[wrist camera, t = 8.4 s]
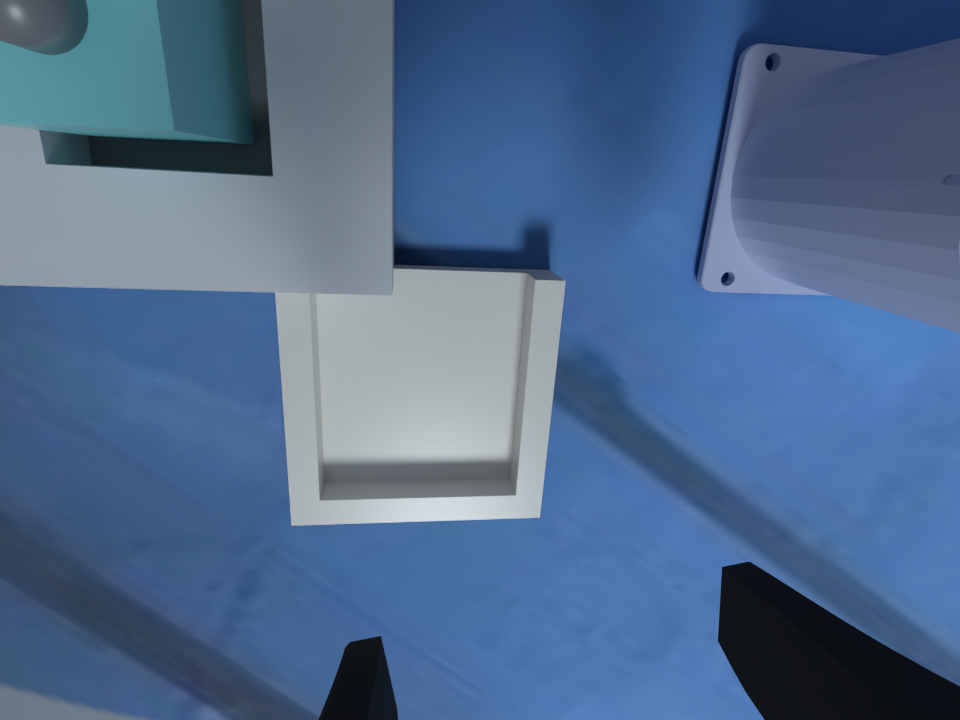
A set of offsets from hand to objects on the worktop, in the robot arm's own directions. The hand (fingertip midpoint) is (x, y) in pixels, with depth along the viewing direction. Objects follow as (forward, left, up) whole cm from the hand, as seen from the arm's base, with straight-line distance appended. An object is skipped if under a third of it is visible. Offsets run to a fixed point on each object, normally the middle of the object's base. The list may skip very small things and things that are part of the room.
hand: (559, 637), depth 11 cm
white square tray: (+3, -1, -10) cm, 11 cm away
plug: (+10, -11, -10) cm, 18 cm away
